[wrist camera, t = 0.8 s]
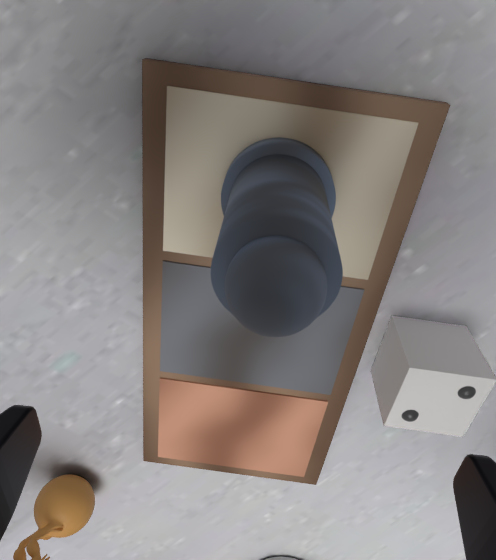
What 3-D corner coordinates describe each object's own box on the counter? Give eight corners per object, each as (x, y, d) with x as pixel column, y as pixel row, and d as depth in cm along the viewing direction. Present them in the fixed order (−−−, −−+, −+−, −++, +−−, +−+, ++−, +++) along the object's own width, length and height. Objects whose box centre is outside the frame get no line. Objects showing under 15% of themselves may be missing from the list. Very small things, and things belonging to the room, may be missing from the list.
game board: (446, 102, 17) (450, 105, 17) (315, 478, 31) (316, 485, 30) (145, 58, 17) (141, 59, 17) (145, 454, 31) (143, 462, 30)
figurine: (67, 510, 35) (-20, 715, 25) (1, 474, 33) (-123, 681, 23) (130, 470, 32) (59, 689, 22) (61, 427, 30) (-54, 646, 20)
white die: (465, 325, 23) (499, 384, 20) (438, 379, 25) (464, 441, 22) (391, 314, 23) (411, 371, 20) (370, 369, 25) (384, 430, 22)
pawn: (345, 146, 18) (391, 250, 10) (320, 248, 21) (342, 392, 13) (229, 129, 18) (190, 221, 10) (218, 234, 21) (180, 369, 13)
